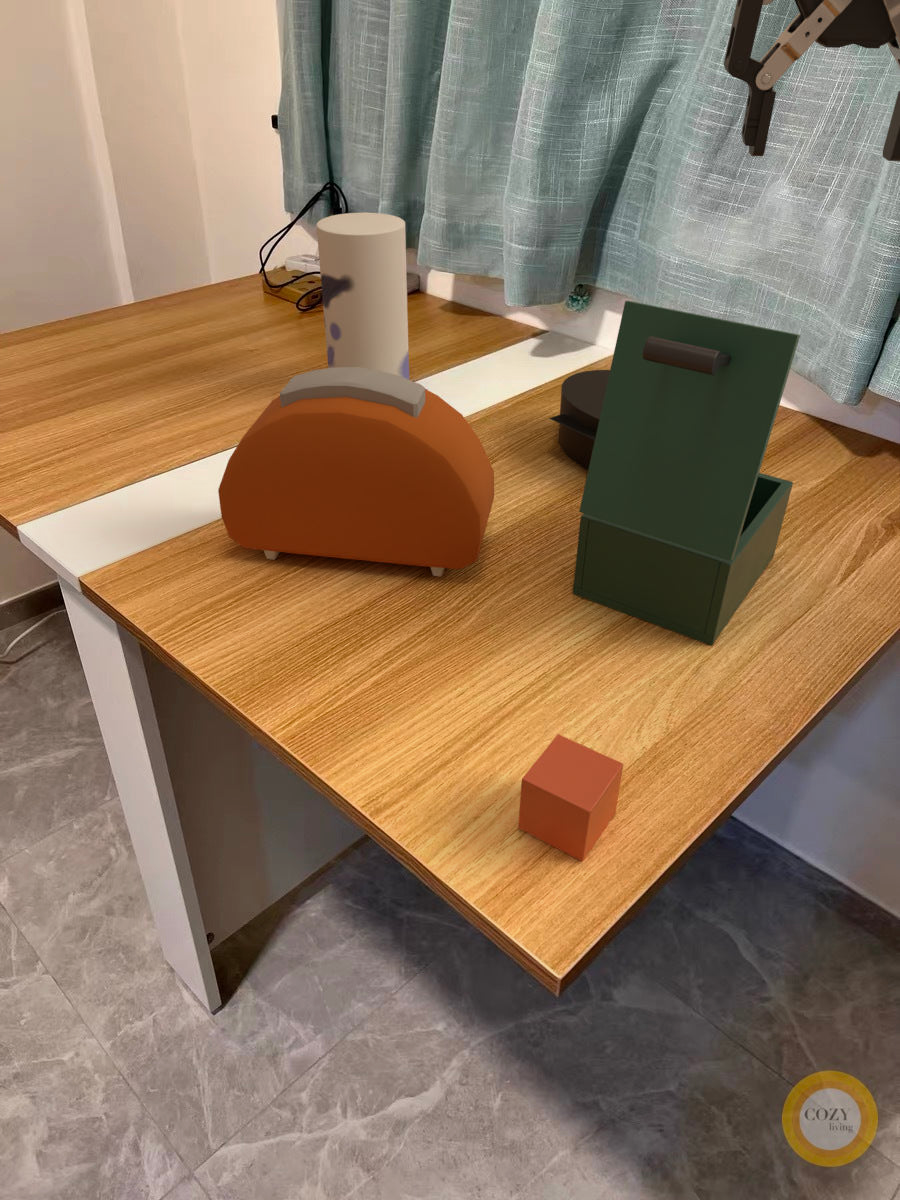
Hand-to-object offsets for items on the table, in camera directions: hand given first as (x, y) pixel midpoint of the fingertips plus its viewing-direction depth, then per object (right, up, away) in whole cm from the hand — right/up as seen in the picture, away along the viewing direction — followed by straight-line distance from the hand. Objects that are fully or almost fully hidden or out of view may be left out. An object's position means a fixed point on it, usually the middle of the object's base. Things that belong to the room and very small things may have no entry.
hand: (823, 156), depth 58 cm
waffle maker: (-5, -13, +40) cm, 43 cm away
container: (-34, -2, +54) cm, 64 cm away
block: (-17, -43, -1) cm, 46 cm away
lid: (-7, -16, +8) cm, 20 cm away
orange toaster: (-32, -24, +25) cm, 47 cm away
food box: (-4, -27, +21) cm, 34 cm away
